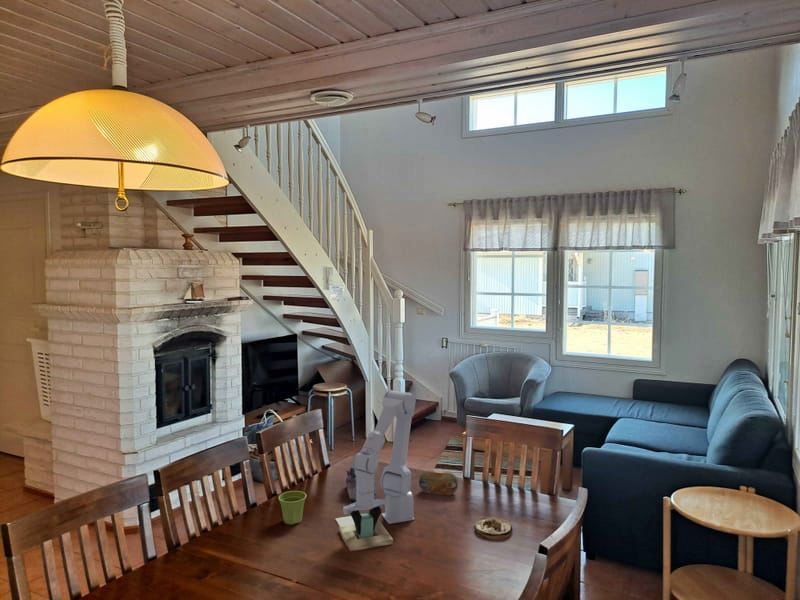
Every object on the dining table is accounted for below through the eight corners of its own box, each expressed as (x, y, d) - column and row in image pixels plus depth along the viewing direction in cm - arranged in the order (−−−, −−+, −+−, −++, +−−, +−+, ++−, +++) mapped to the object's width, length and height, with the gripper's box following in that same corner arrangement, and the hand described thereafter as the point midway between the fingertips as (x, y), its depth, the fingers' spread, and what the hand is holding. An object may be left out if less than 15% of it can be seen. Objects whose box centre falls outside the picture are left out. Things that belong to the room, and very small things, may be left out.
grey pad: (357, 516, 195) (357, 514, 195) (364, 525, 188) (364, 524, 188) (335, 519, 193) (335, 518, 193) (341, 529, 185) (341, 528, 185)
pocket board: (379, 524, 189) (379, 520, 189) (393, 543, 176) (393, 539, 176) (338, 531, 184) (338, 527, 184) (350, 551, 171) (350, 546, 171)
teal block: (369, 533, 182) (369, 512, 182) (373, 539, 179) (373, 517, 178) (357, 535, 181) (357, 514, 181) (361, 541, 177) (361, 519, 177)
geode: (338, 484, 225) (341, 459, 226) (366, 485, 228) (369, 460, 229) (346, 502, 206) (350, 475, 206) (377, 503, 209) (380, 476, 209)
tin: (418, 492, 217) (418, 471, 216) (420, 489, 220) (420, 468, 219) (457, 497, 212) (457, 475, 212) (458, 493, 215) (458, 472, 215)
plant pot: (300, 528, 186) (300, 502, 186) (274, 525, 188) (274, 500, 187) (310, 516, 195) (310, 492, 195) (285, 513, 197) (285, 489, 197)
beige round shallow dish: (522, 528, 187) (522, 516, 187) (506, 547, 174) (506, 534, 174) (481, 518, 195) (481, 506, 194) (463, 535, 182) (463, 523, 182)
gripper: (381, 482, 186) (381, 522, 186) (339, 489, 179) (339, 530, 180) (389, 489, 179) (389, 531, 180) (347, 497, 173) (347, 540, 174)
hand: (365, 531), depth 180 cm, fingers closed on teal block, 4 cm apart
